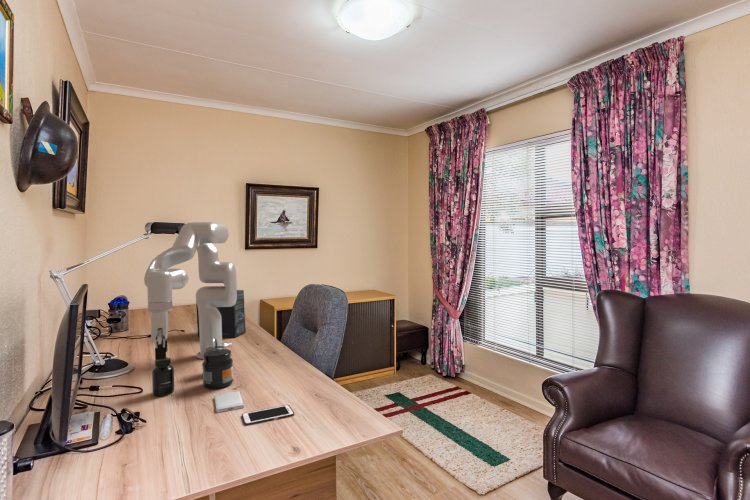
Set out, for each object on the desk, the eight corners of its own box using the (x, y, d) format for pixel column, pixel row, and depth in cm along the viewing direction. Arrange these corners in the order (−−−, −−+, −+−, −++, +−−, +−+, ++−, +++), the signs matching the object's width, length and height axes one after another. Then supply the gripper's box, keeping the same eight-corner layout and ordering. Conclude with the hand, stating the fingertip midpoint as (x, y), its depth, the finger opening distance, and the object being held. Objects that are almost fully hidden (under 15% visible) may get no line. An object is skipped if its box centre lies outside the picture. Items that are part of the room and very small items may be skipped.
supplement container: (239, 381, 154) (238, 350, 153) (218, 391, 144) (217, 358, 143) (218, 377, 158) (217, 347, 157) (196, 387, 148) (195, 354, 148)
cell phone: (241, 416, 125) (241, 413, 125) (289, 407, 131) (289, 404, 131) (244, 427, 118) (244, 423, 118) (295, 416, 124) (295, 413, 124)
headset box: (196, 337, 221) (195, 289, 220) (209, 331, 233) (207, 286, 232) (235, 338, 218) (234, 289, 216) (246, 332, 229) (244, 286, 228)
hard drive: (214, 395, 138) (216, 409, 127) (239, 390, 142) (243, 404, 130) (214, 400, 138) (216, 414, 127) (239, 395, 142) (244, 409, 130)
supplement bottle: (165, 397, 139) (164, 362, 139) (148, 396, 141) (146, 361, 140) (179, 390, 146) (177, 356, 146) (162, 388, 147) (160, 355, 147)
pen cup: (219, 369, 168) (217, 335, 167) (228, 372, 164) (227, 337, 163) (202, 373, 163) (201, 338, 162) (212, 377, 158) (211, 341, 158)
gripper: (149, 304, 148) (151, 351, 149) (145, 311, 132) (147, 363, 133) (173, 302, 151) (174, 348, 152) (171, 309, 136) (172, 360, 136)
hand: (161, 355), depth 142 cm, fingers open, 9 cm apart
